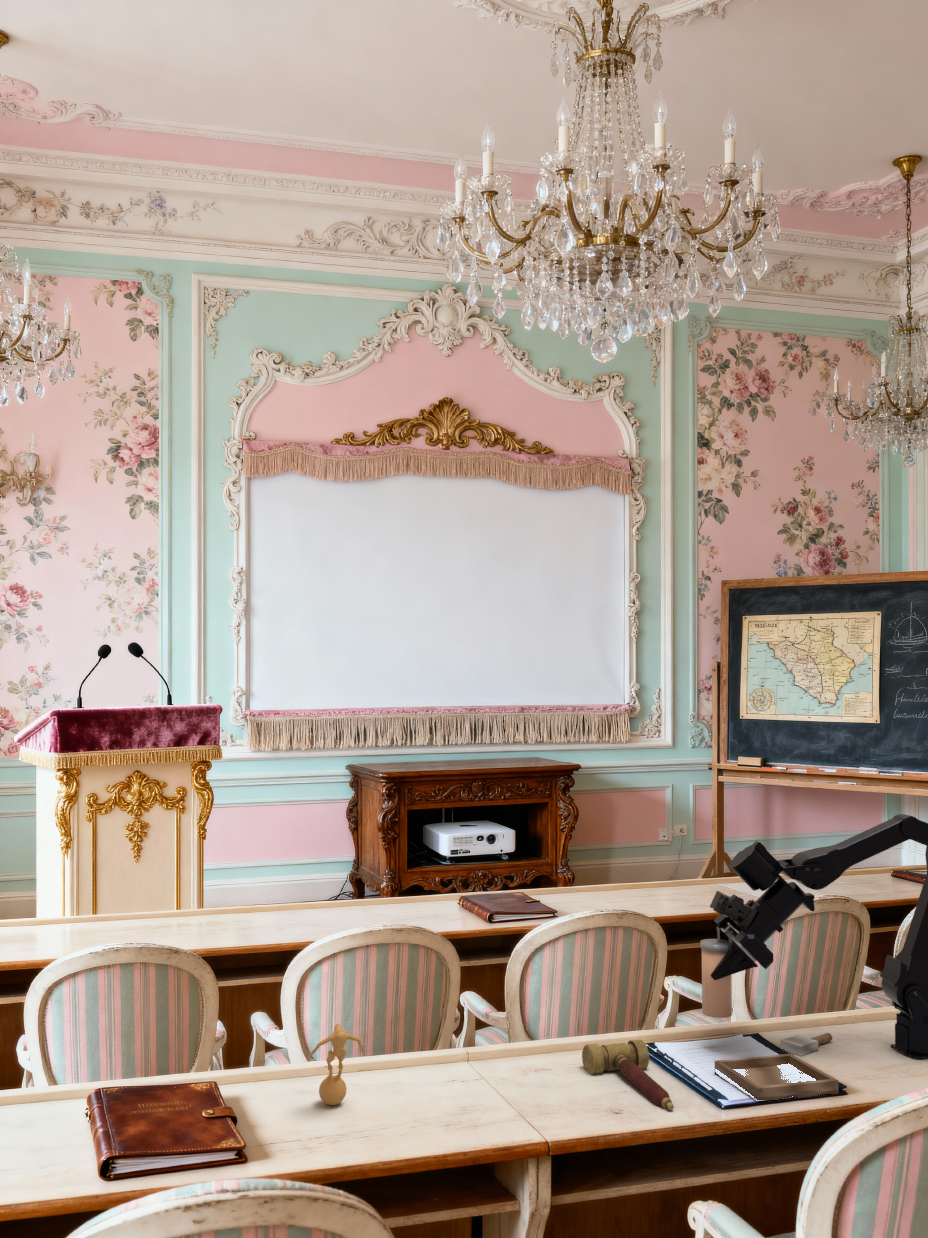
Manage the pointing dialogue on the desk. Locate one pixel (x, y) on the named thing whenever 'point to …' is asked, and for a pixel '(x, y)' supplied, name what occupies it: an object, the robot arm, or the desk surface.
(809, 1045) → the mallet
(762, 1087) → the walnut tray
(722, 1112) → the desk surface
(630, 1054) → the gavel
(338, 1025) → the figurine
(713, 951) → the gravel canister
